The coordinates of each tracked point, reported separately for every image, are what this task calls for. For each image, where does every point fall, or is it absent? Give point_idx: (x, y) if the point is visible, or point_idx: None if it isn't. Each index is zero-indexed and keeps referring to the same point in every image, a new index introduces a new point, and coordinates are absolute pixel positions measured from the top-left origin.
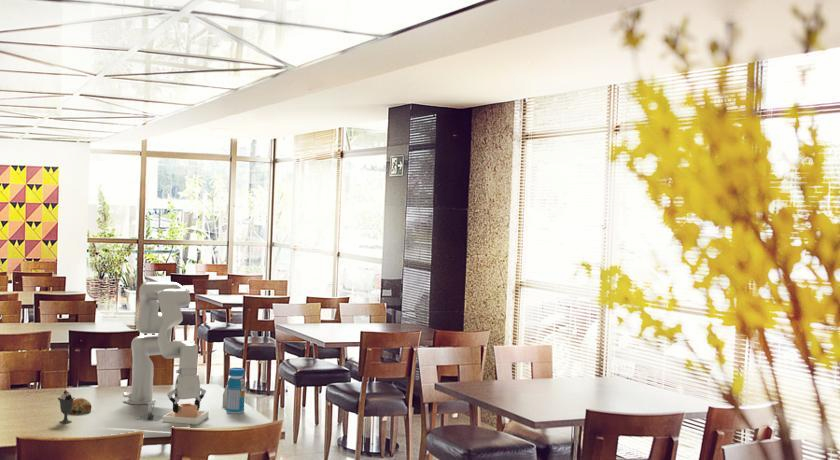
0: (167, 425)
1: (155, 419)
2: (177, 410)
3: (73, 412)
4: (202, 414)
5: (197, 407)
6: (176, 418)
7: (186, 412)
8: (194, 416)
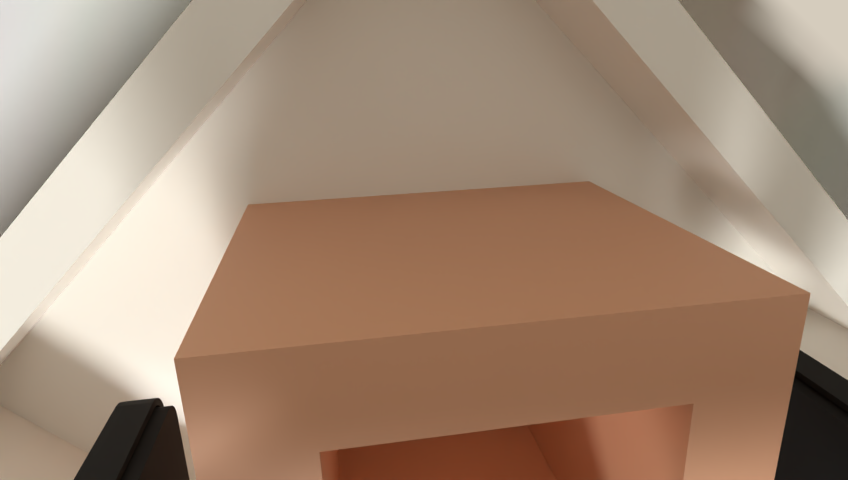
0: (839, 123)
1: None
2: None
3: None
4: (86, 174)
5: (144, 455)
6: (770, 146)
7: (560, 243)
8: (308, 221)
